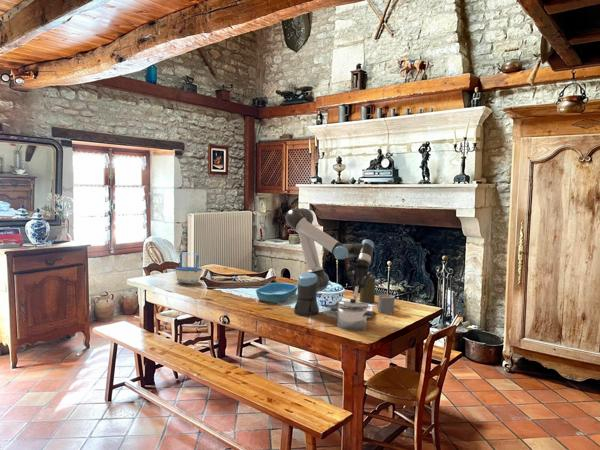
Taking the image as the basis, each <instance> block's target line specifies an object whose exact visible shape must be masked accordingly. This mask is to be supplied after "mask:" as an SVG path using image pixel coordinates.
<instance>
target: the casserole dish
mask: <svg viewBox="0 0 600 450" xmlns="http://www.w3.org/2000/svg"><path fill="white" fill-rule="evenodd" d="M297 292H298V284H294V283H289V282H271V283H268V284H265V285H263V286H261V287H258V288H257V289H255V293H256V297H257V298H258V300H260V301H262V302H270V303H277V302H278V303H282V301H283V302H285V301H287V300H288V298H289V299H290V298H292V297H293V296H295V295H296V293H297Z"/></svg>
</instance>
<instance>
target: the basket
mask: <svg viewBox="0 0 600 450" xmlns="http://www.w3.org/2000/svg"><path fill="white" fill-rule="evenodd" d="M183 254H185V255H190V253H189V252H185V251H184V252H183V251H182V252H180V253H179V267H178V266H176V267H175V268H174V269H175V275H176V281H177V282H178V283H182V284H183V283H184V284H187V285H188V284H193V285H194V284H198V283H199V280H200V277H201V274H202V270H203V268H202V267H198V265H199V257H200V256H199V254H197V253H194V255H195V256H196V257H195V258H196V260H195V267H194V266H183Z"/></svg>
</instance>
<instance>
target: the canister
mask: <svg viewBox="0 0 600 450" xmlns="http://www.w3.org/2000/svg"><path fill="white" fill-rule="evenodd" d="M366 277H367V275H366V276H364V279H363V282H364V280H365V279H366ZM376 278H377V277H376V276H375V275H372V277H371V278H370V279H369V281H368V283H367V285H366V287H365V288H362V289H361V292H360V293H359V301H358V302H360V303H366V304H373V303H375V302H376V301H375V299H376V298H375V296H376V295H375V294H376V292H375V291H376Z"/></svg>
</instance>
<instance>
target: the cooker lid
mask: <svg viewBox="0 0 600 450" xmlns="http://www.w3.org/2000/svg"><path fill="white" fill-rule="evenodd" d="M336 304H337V305H338V306H339V305H342V306H348V307H357V308H368V306H369V303H362V302H360V301H357V299H356V298H355V299H354V298H350V300H337V301H336Z"/></svg>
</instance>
